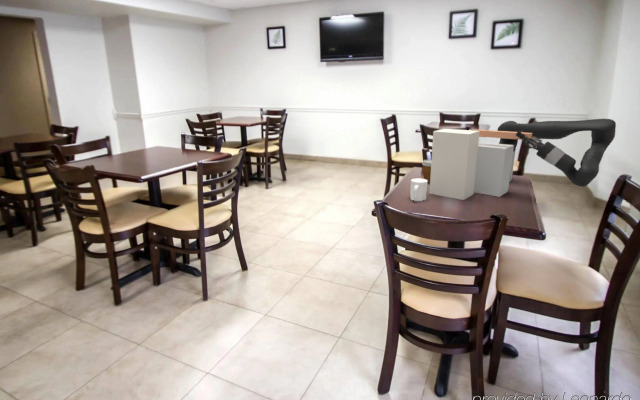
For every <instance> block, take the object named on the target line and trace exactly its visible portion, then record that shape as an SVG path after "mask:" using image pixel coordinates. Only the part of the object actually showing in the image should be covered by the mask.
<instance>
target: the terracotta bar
mask: <svg viewBox="0 0 640 400" xmlns="http://www.w3.org/2000/svg"><path fill="white" fill-rule="evenodd" d="M472 130H473V131H480V133H479V138H480V137H483V138H494V139H495V138H496V139H500V138H506V139H518V141H519V140H520V141H522V139H520V138H519V137H517V136H516V133H517V132H508V131H497V130H489V129H472ZM521 133H522V134H524V135H525V136H527V137H529V138H532V133H524V132H521Z"/></svg>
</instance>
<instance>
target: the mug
mask: <svg viewBox="0 0 640 400" xmlns="http://www.w3.org/2000/svg"><path fill="white" fill-rule="evenodd" d="M427 182H428V181H427V180H426V179H424V178H420V177H419V178H418V177H417V178H411V180H410V187H409V188H410V190H409V192H410V193H409V195H410V197H409V198H410V200H411V201H413V200H414V201H413V202H424V201H426V200H427V190H428V183H427ZM423 200H424V201H423Z"/></svg>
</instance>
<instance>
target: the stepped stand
mask: <svg viewBox="0 0 640 400" xmlns="http://www.w3.org/2000/svg"><path fill="white" fill-rule="evenodd" d="M479 133H480V131H471V130H470V129H469V130H467V129H455V128H441V129H437V130H434V131H432V146H431V147H432V148H431V159H430V160H431V176H430V183H429V194H431V195H435V196H438V197H439V196H441V197H443V198H444V197H446V198H451V199H456V200H461V201H465V200H466V199H468V198H470V197H471V196H473V195H474V194H476V193H477V194H481V195H488V196H492V197H502V196H503V195H505V194H506V193H508V192H509V186H510V182H509V180H510V172H511V164H512V156H513V148H514V145H506V144H499V143H495V142H494V143H493V142H481V141H480V137H479ZM479 141H480V142H479Z"/></svg>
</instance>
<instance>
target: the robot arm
mask: <svg viewBox="0 0 640 400" xmlns="http://www.w3.org/2000/svg"><path fill="white" fill-rule="evenodd" d="M616 126H617V124H616V121H615V120H614V119H611V118H610V119H609V118H593V119H583V120H544V121H536V122H530V123H518V122H516V121H515V120H507V121H505V122H502V123H501V124H500V125H499V126H498V128H497V130H496V131H508V132H517V133H516V136H517V137H519V138H520V139H522V140H521V142H522V143H523V144H524V145H525V146H526V147H528V148H529V149H531V150H536V151H537V152H536V154H535V155H536V156H537V157H539V158H540V159H542V160H544V161H545V162H546V163H548V164H550V165H552V166H553V167H555V168H556V169H558V170H560V171H561V172H562V173H563V174H564V175H565V177H567V179H568V180H569V181H570V182H571V183H572V184H573V185H576V186H577V187H583V188H584V187H587V186H588V185H589V184H590V183H592V182H593V180H594V179H595V178H596V177H597V176H598V174H599V172H600V171H599V170H600V164H601V161H602V159H603V157H604V154H605V152H606V151H607V148H609V146H610V145H611V143H612V142H613V141H614V140H615V137H616V128H617V127H616ZM521 132H524V133H532V138H529V137H527V136H525V135H524V134H522V133H521ZM578 132H591V133H590V135H591V136H590V137H591V144H590V147H589V148H588V149H587V150H586V151H585V152H584V154H583V156H582V157H581V160H580V163H579V164H580V166H579V168H578V169H577V168H576V167H575V166H576V163H577V160H576V159H575V158H574V157H572V156H571V155H569V154H567V153H566V152H565V151H563V150H562V149H561V148H559V147H558V146H556V145H555V144H553V143H551V142H549V141H546V142H545V143H543V140H562V139H564V138H567V137H568V136H570V135H573V134H576V133H578ZM518 142H519V139H506V138H499V142H498V144H506V145H514V148H513V156H512V164H511V172H510V180H509V183H511V182H512V180H513V173H514V166H515V165H514V164H515V158H516V157H515V156H516V150H517V149H516V148H517V146H518Z"/></svg>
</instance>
